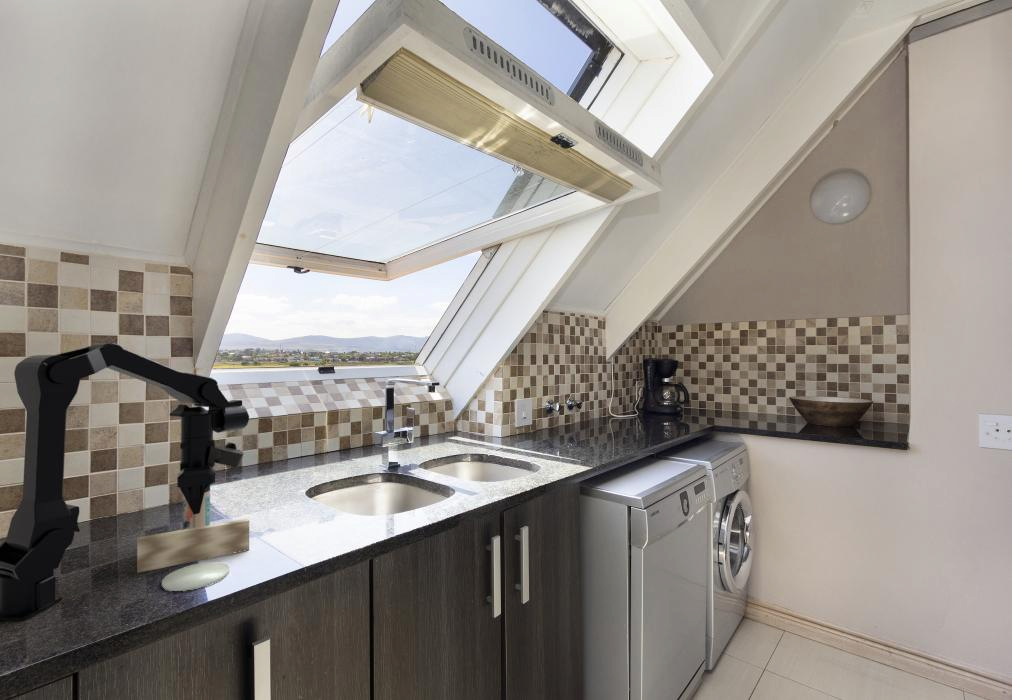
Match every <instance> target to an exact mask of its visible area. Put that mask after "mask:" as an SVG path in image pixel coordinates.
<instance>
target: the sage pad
mask: <svg viewBox="0 0 1012 700" xmlns="http://www.w3.org/2000/svg"><path fill="white" fill-rule="evenodd" d="M229 573H230V566H229V565H228V564H227V563H224V562H221V561H207V562H200V563H195V564H191V565H187V566H185V567H181V568H179V569H176V570H174V571H172V572H170V573H169V574H167V575H166V576H165V577H163V578H162V581H161V588H162V587H163V588H164V589H165V591H167V590H168V591H167V592H172V591H183V592H188V591H187V590H191V591H195V590H194V589H196V590H199V589H198V588H200V589H202V588H201V587H203V588H205V587H204V586H206V587H208V586H207V585H209V586H211V585H210V584H212V583H214V584H216V583H218V582H220V581H222V580H223V579H225V578H226V577H227V576H228V575H229ZM227 574H228V575H227ZM226 575H227V576H226ZM225 576H226V577H225ZM224 577H225V578H224ZM222 578H223V579H222ZM221 579H222V580H221ZM219 580H220V581H219ZM217 581H218V582H217ZM215 582H216V583H215ZM212 585H213V584H212ZM163 588H162V589H163ZM164 589H163V590H164Z"/></svg>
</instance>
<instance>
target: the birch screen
mask: <svg viewBox="0 0 1012 700" xmlns="http://www.w3.org/2000/svg"><path fill="white" fill-rule="evenodd" d="M136 542H137V546H136V547H137V548H136V550H137V551H136V557H137V558H136V560H137V562H136V563H137V564H136V567H137V568H136V569H137V570H136V571H137V574H139V573H144V572H148V571H153V570H159V569H164V568H168V567H172V566H178V565H182V564H188V563H192V562H198V561H201V560H202V559H203V560H207V559H206V558H208V559H212V558H211V557H213V558H216V557H217V556H218V557H222V556H221V555H223V556H227V555H226V554H228V555H231V554H230V553H233V554H235V553H234V552H238V553H240V552H239V551H243V552H245V551H244V550H248V551H250V518H244V519H238V520H237V519H236V520H233V521H226V522H221V523H214V524H210V525H207V526H201V527H196V528H190V529H184V530H183V529H179V530H178V529H177V530H173V531H169V532H161V533H156V534H151V535H150V534H148V535H144V536H139V537H137V541H136ZM218 557H217V558H218ZM203 560H202V561H203Z"/></svg>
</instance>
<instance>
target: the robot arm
mask: <svg viewBox="0 0 1012 700" xmlns="http://www.w3.org/2000/svg"><path fill="white" fill-rule="evenodd" d="M104 369H110V370H112V371H114V372H117V373H120V374H123V375H126V376H128V377H130V378H133V379H137V380H139V381H142V382H145V383H147V384H150V385H152V386H155V387H158V388H160V389H161V390H164V392H165V393H166V394H168V396H170V397H172V398H174V399H175V400H177V401H179V402H180V403H182V404H178V406H177V407H176V408H175V409H173V410H171V412H169V417H172V418H174V417H175V418H180V442H179V443H180V447H179V449H180V462H179V471H180V472H179V473H178V474H177V478H176V479H177V482H176V483H177V488H179V489H180V491H181V493H182V496H183V495H184V497H185V499H186V501H187V503H188V505H189V507H190V509H191V510H192V512H193V514H199V513H200V510H201V505H202V501H203V497H204V493H205V489H206V488H207V487H208V486H209V485H210V486H211V485H212V484H214V483H216V470H215V469H214V467H215V466H216V464H220V465H223V466H228V467H230V468H234V469H238V468H239V466H240V463H241V462H242V459H243V456H244V451H242V450H241V449H237V444H236V443H234V442H227V443H226V444H225V445H224V446H223V445H218V444H217V445H216V441H215V439H214V432H215V433H225V432H226V433H227V432H231V431H237V430H243V429H245V428H246V427H247V426H248V424H249V421H250V415H249V413H248V410H247V408H246V407H245V406H244V405H243V400H242V399H233V400H229V401H228V399H227V398H226V397H225V395H224V394H223V392H222V391H221V390H220V388H219V385H218V381H217V380H216V379H214V378H213V377H211V376H206V375H201V374H196V373H191V372H185V371H180V370H177V369H174V368H172V367H169V366H167V365H165V364H162V363H161V362H157V361H155V360H153V359H151V358H148V357H145V356H143V355H141V354H138V353H136V352H134V351H131V350H129V349H127V348H124V347H122V346H121V345H119V344H118V343H114V342H105V343H104V342H101V343H100V342H95V343H94V344H91V345H89V346H86V347H83V348H78V349H75V350H69V351H65V352H61V353H57V354H37V355H36V354H35V355H31V356H28V357H25V358H24V359H23V360H21V361H20V362H18V363H17V364H16V366H15V369H14V375H13V376H14V381H15V384H16V390H17V394H18V396H19V398H20V400H21V402H22V404H23V406H24V409H25V411H26V420H25V422H26V423H25V441H24V442H25V444H24V459H23V460H24V461H23V462H24V463H23V464H24V465H23V482H22V500H21V502H20V504H19V506H18V507H17V509H16V511H15V512H14V514H13V515H12V518H11V520H10V522H9V527H8V530H7V531H8V532H7V534H6V538H5V540H4V541H3V542H1V544H0V621H25V620H27V619H28V618H29V619H30V618H31V617H33V616H34V615H36V614H38V613H40V612H41V611H44V610H45V609H47V608H49V607H51V606H52V605H54V604H56V603H58V602H60V601H62V600H63V599H64V595H56V580H57V579H56V577H57V576H56V575H55V573H54V572H55V571H54V570H56V569H58V568H59V567H60V564H61V562H62V559H63V557H64V554H65V553H66V552H65V551H66V550H67V549H68V548H69V547H70V546H71V545H72V544H73V542H74V540H75V533H76V532H77V533H79V532H80V530H81V528H79V524H78V521H79V516H80V506H77V505H72V504H67V501H66V500H65V499H64V477H65V458H66V457H65V455H66V453H65V452H66V433H67V431H66V429H67V412H68V408H69V407H70V406H71V403H72V402H73V400H74V399H75V397H76V396H77V394H78V390H79V386H80V383H81V379H83V378H84V379H85V378H87V377H89V376H93V375H95V374H97V373H99V372H100V371H102V370H104ZM187 404H190V405H193V406H192V407H189V406H188V405H187ZM206 408H208V409H206Z"/></svg>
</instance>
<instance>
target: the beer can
mask: <svg viewBox="0 0 1012 700" xmlns="http://www.w3.org/2000/svg"><path fill="white" fill-rule="evenodd" d="M207 525H211V485H209V486H208V487H207V488H206V489H205V493H204V497H203V501H202V505H201V510H200V513H199V514H193V512H192V510H191V509H190V507H189V505H188V503H187V501H186V499H185V497H184V495H183V494H182V530H184V529H190V528H196V527H201V526H207Z"/></svg>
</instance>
